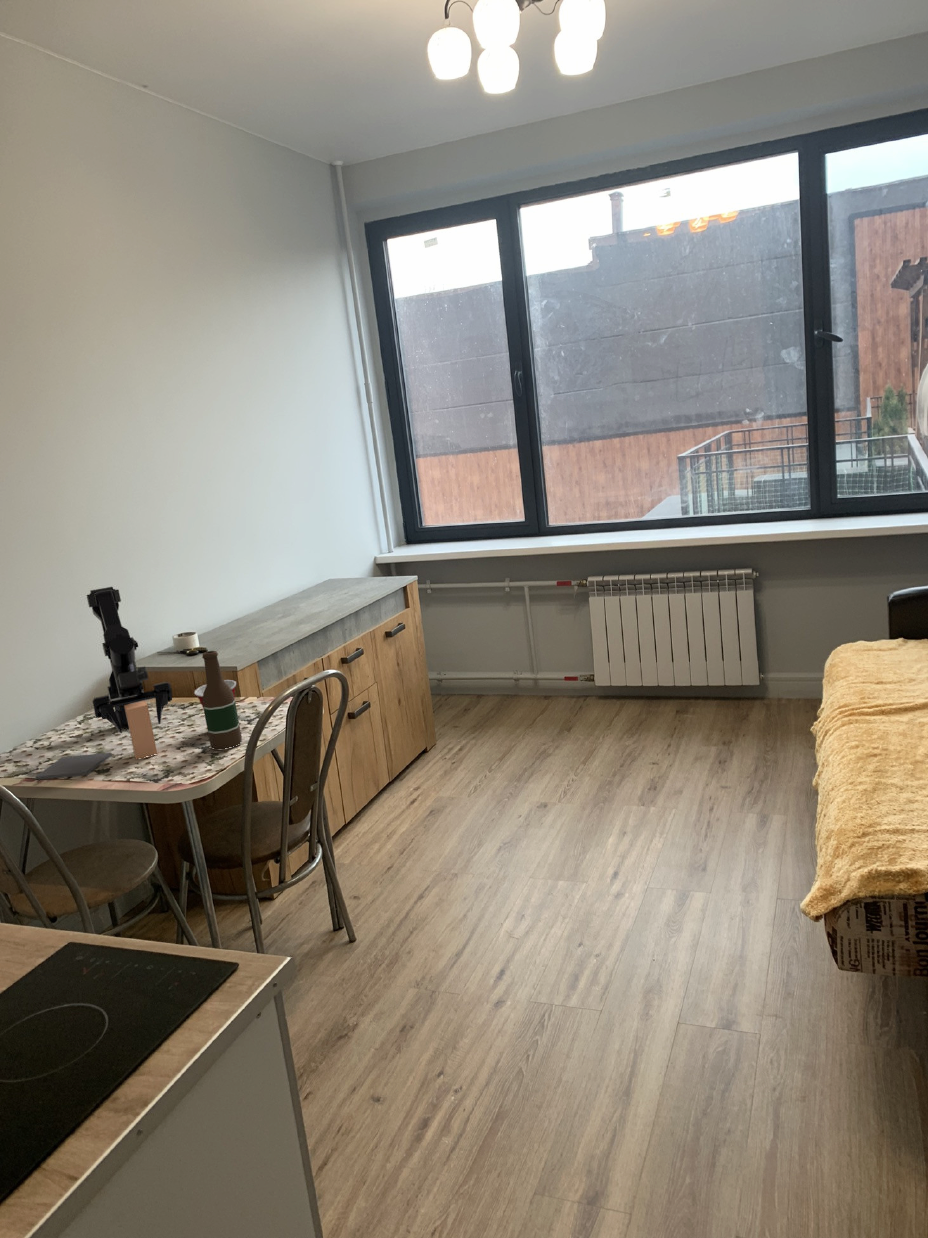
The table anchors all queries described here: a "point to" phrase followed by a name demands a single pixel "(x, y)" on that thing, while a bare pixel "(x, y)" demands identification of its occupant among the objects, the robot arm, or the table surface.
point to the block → (140, 729)
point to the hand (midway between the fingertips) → (140, 727)
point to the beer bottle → (219, 706)
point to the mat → (73, 766)
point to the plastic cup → (201, 689)
